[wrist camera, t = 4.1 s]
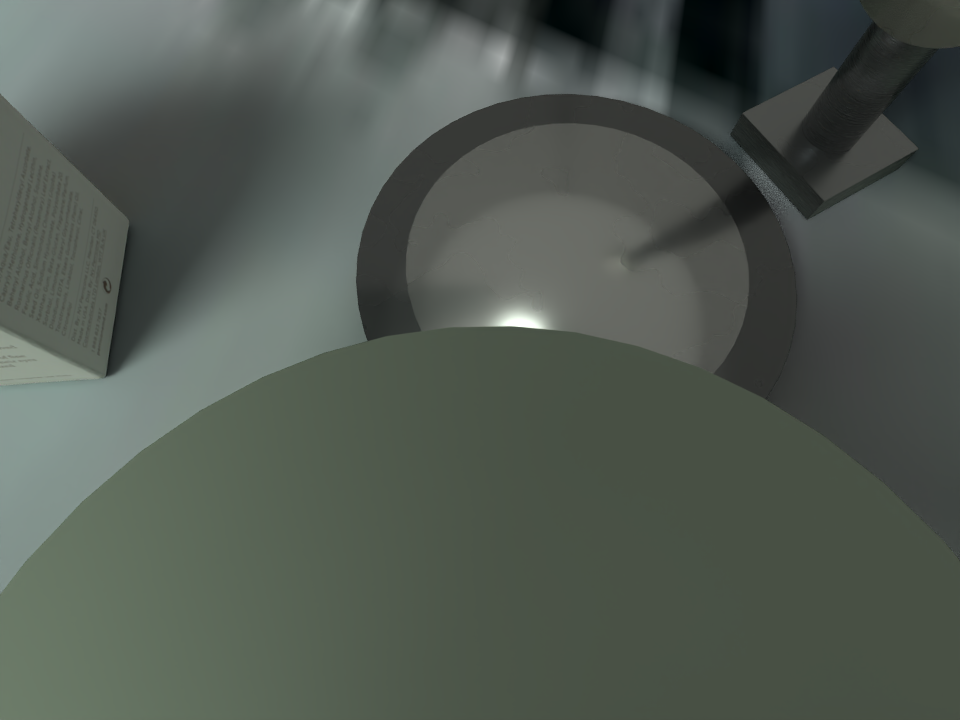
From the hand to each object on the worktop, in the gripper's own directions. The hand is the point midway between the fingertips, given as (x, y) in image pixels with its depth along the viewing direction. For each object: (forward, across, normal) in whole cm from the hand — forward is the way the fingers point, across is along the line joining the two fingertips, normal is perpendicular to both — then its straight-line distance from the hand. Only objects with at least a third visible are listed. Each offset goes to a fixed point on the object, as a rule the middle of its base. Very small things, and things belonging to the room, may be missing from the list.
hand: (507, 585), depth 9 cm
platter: (+11, 0, -2) cm, 11 cm away
